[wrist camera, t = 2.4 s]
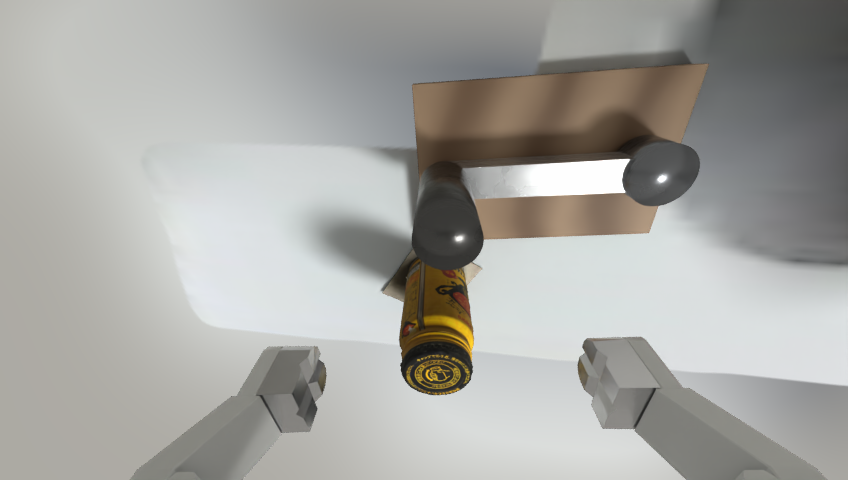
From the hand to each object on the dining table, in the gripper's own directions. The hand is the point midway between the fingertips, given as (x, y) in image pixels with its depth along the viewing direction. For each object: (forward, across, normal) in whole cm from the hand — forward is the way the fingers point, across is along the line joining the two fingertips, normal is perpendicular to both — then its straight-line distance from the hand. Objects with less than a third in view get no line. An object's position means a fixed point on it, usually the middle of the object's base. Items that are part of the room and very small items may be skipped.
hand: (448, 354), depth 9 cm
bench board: (+19, -8, 0) cm, 21 cm away
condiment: (+20, +1, +12) cm, 23 cm away
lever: (+17, -8, 0) cm, 19 cm away
